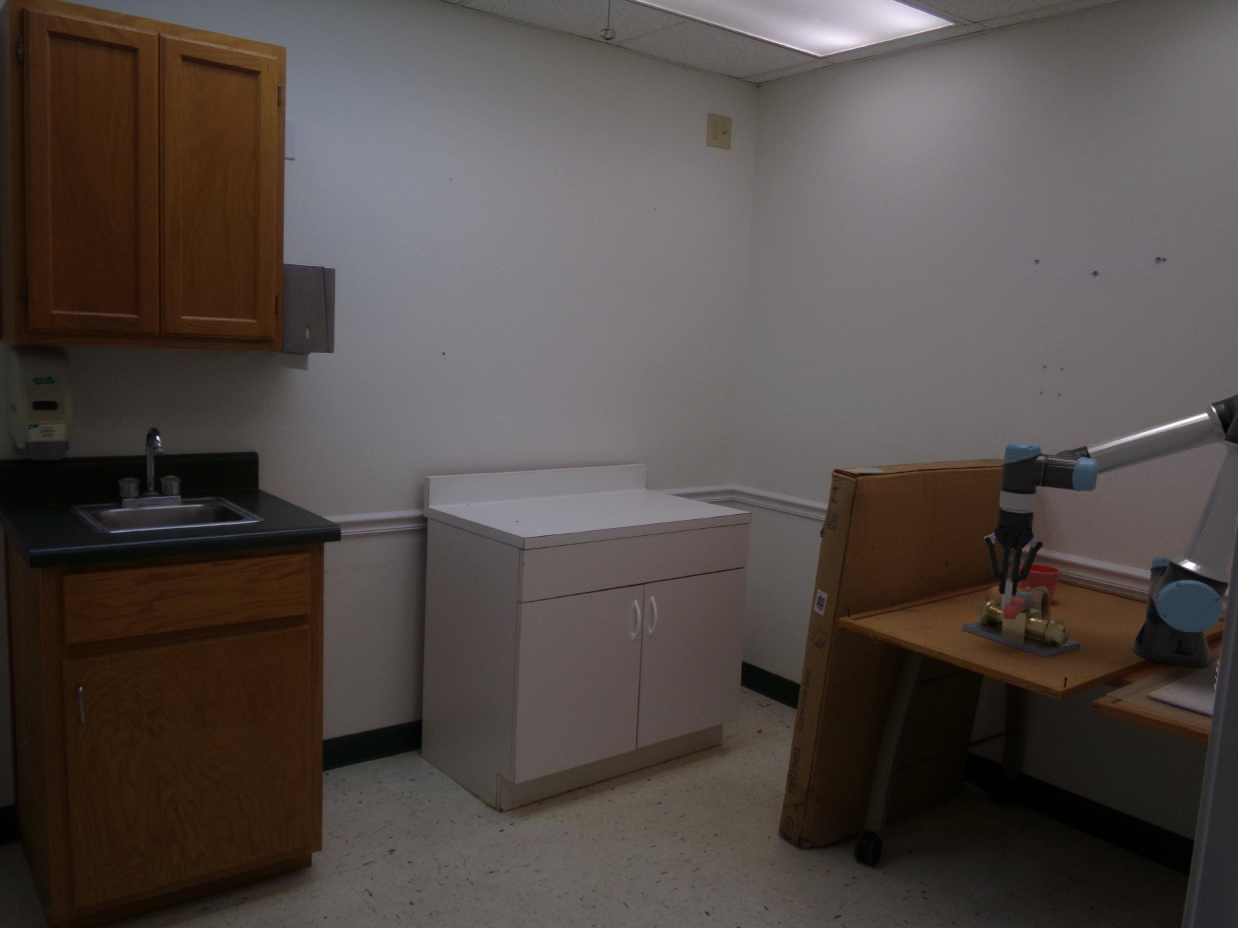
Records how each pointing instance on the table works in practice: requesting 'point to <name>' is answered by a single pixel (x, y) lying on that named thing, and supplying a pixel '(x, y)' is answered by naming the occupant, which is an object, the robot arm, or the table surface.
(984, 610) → the valve
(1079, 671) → the table surface
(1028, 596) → the lever
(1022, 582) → the flower pot
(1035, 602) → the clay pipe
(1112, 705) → the table surface
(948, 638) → the table surface
